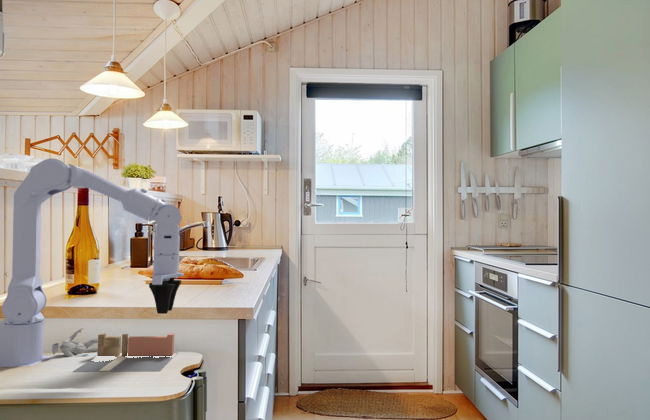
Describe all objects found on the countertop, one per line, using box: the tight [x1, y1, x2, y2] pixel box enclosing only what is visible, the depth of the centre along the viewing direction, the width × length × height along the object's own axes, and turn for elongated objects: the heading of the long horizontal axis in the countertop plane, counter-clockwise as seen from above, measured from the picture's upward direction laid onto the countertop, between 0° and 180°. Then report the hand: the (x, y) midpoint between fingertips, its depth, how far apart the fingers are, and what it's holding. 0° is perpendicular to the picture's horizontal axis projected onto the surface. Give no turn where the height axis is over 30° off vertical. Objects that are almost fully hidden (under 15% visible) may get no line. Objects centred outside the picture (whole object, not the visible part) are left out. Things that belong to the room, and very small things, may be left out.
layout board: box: [72, 351, 179, 373], centre depth 95 cm, size 17×14×1 cm
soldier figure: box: [51, 328, 98, 358], centre depth 101 cm, size 8×5×12 cm
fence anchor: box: [96, 333, 129, 357], centre depth 99 cm, size 6×1×5 cm, turn 94°
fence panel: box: [128, 333, 175, 356], centre depth 99 cm, size 10×1×5 cm, turn 94°
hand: (164, 311), depth 105 cm, fingers open, 3 cm apart
